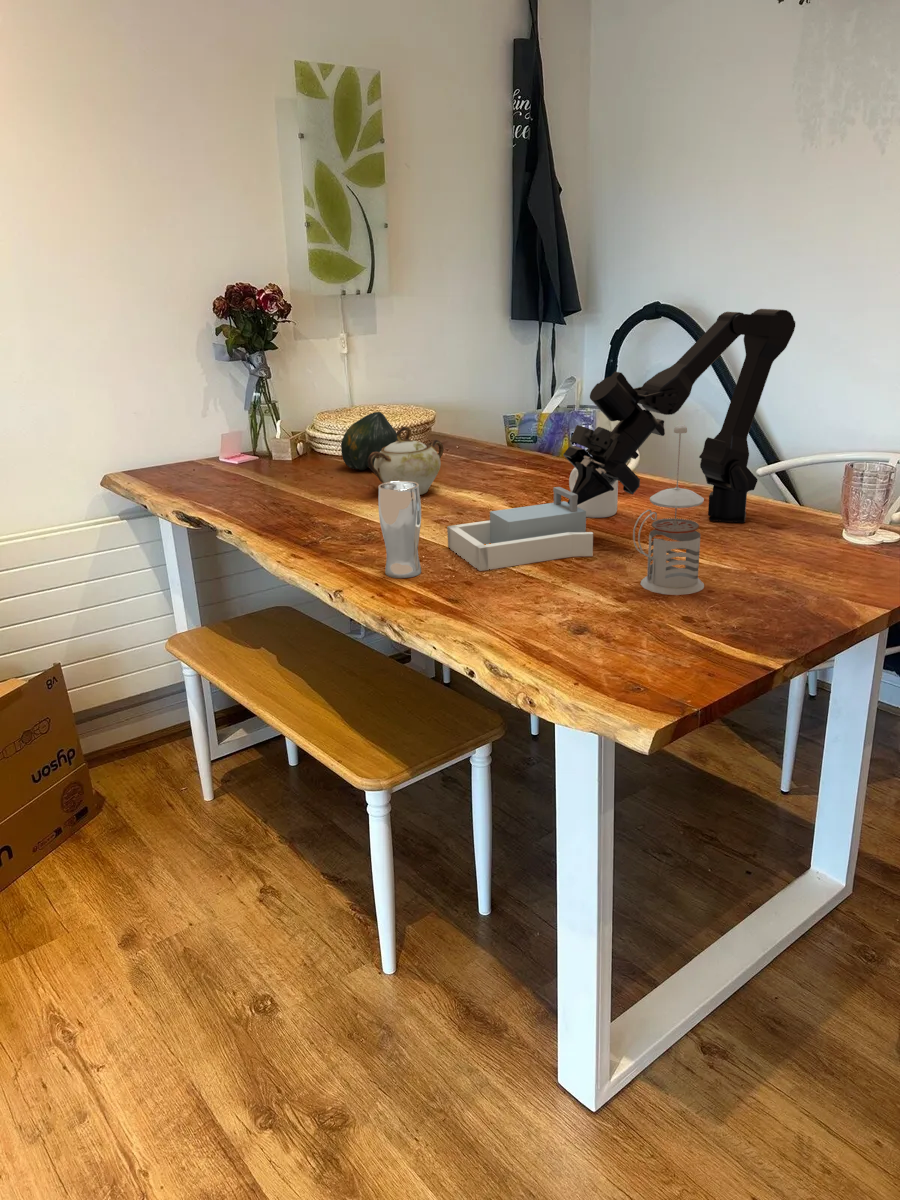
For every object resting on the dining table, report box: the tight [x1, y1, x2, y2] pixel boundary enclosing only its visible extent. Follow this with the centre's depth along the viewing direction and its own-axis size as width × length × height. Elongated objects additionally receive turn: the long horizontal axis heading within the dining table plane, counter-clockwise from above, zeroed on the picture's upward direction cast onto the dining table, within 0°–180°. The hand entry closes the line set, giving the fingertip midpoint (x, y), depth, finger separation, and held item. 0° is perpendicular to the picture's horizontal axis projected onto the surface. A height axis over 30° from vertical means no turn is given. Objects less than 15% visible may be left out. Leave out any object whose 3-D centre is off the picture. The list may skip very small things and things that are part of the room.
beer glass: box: [377, 481, 422, 579], centre depth 149 cm, size 7×7×15 cm
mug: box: [568, 467, 619, 519], centre depth 182 cm, size 12×8×10 cm
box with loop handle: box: [489, 486, 587, 544], centre depth 161 cm, size 15×8×10 cm, turn 111°
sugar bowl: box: [368, 426, 444, 496], centre depth 202 cm, size 20×15×15 cm
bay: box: [446, 519, 594, 572], centre depth 160 cm, size 21×18×4 cm
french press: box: [632, 424, 705, 596], centre depth 137 cm, size 10×12×25 cm
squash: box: [340, 411, 398, 471], centre depth 229 cm, size 14×15×15 cm
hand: (570, 505), depth 162 cm, fingers closed
